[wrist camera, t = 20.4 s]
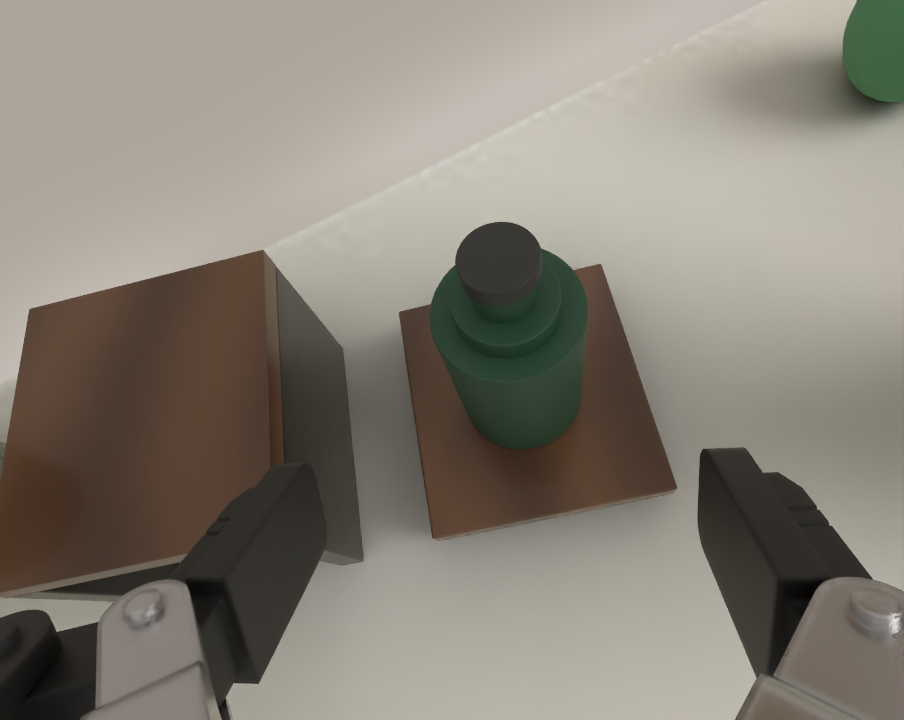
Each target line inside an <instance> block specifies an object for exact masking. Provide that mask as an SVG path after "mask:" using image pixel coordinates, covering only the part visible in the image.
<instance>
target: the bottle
mask: <svg viewBox="0 0 904 720" xmlns="http://www.w3.org/2000/svg"><path fill="white" fill-rule="evenodd" d="M455 264H456V265H455V266H454V267H453V268H452V269H450V271H449V272H448V273H447V274H446V275H445V276H444V278H443V279H442V281H441V282H440V284H439V285H438V287H437V289H436V291H435V294H434V297H433V299H432V303H431V308H430V329H431V333H432V337H433V339H434V342H435V344H436V347H437V349H438V351H439V353H440V355H441V357H442V360H443V362H444V364H445V366H446V368H447V370H448V373H449V375H450V377H451V379H452V381H453V384H454V386H455V388H456V390H457V392H458V394H459V397H460V399H461V401H462V403H463V405H464V407H465V410H466V412H467V414H468V416H469V418H470V420H471V422H472V424H473V425H474V426H475V428H476V429H477V430H478V431H479V432H480V433H481V434H482V435H483V436H484V437H486V438H487V439H488V440H490V441H492V442H493V443H495V444H498V445H500V446H503V447H507V448H511V449H532V448H537V447H540V446H543V445H546V444H548V443H550V442H552V441H554V440H555V439H557V438H558V437H559V436H561V435H562V434H563V433H564V432H565V431H566V430H567V429H568V428H569V426H570V425H571V424H572V422H573V421H574V419H575V417H576V415H577V412H578V409H579V405H580V400H581V389H582V378H583V367H584V356H585V344H586V333H587V322H588V300H587V296H586V292H585V290H584V287H583V285H582V283H581V281H580V279H579V277H578V276H577V274H576V273H575V272H574V271H573V269H572V268H571V267H570V266H569V265H568V264H566V263H565V262H564V261H563V260H562V259H560V258H559V257H557V256H556V255H554V254H552V253H550V252H548V251H546V250H543V249H541V248H540V246H539V243H538V241H537V239H536V238H535V237H534V236H533V234H531V233H530V232H529V231H528V230H527V229H525V228H523V227H522V226H519V225H517V224H513V223H508V222H495V223H490V224H486V225H483V226H481V227H479V228H477V229H475V230H474V231H472V232H471V233H470V234H469V235H467V236H466V238H465V239H464V240H463V241H462V243H461V244H460V246H459V248H458V251H457V254H456V261H455Z"/></svg>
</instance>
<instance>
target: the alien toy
mask: <svg viewBox="0 0 904 720" xmlns="http://www.w3.org/2000/svg"><path fill="white" fill-rule="evenodd" d="M842 59H843V65H844V68H845V70H846V73H847V76H848V78H849V80H850V81H851V83H852V84H853V85H854V86H855V87H856V89H857V90H859V91H860V92H861V93H863V94H864V95H866V96H868V97H870V98H873V99H875V100H879V101H884V102H894V103H900V102H904V0H857V2H856V4H855V6H854V8H853V10H852V12H851V15H850V17H849V19H848V22H847V25H846V28H845V32H844V38H843V57H842Z"/></svg>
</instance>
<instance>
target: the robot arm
mask: <svg viewBox="0 0 904 720" xmlns="http://www.w3.org/2000/svg"><path fill="white" fill-rule="evenodd" d="M698 529H699V536H700V540H701V544H702V548H703V550H704V553H705V555H706V558H707V560H708V562H709V565H710V567H711V570H712V572H713V574H714V577H715V579H716V582H717V584H718V586H719V589H720V591H721V594H722V596H723V598H724V601H725V603H726V606H727V608H728V610H729V613H730V615H731V618H732V620H733V622H734V625H735V627H736V630H737V632H738V634H739V637H740V639H741V642H742V644H743V646H744V649H745V651H746V654H747V656H748V658H749V661H750V663H751V666H752V668H753V670H754V673H755V675H756V678H757V679H756V681H755V683H754V685H753V686H752V688H751V690H750V692H749V694H748V696H747V698H746V700H745V702H744V704H743V705H742V707H741V709H740V711H739V713H738V715H737V717H736V719H735V720H904V592H903V591H901V590H899V589H897V588H895V587H893V586H890V585H888V584H885V583H882V582H879V581H876V580H873V579H872V578H871V576H870V575H869V574H868V572H867V571H866V570H865V568H864V567H863V566H862V565H861V563H860V562H859V561H858V559H857V558H856V557H855V555H854V554H853V553H852V552H851V550H850V549H849V548H848V546H847V545H846V544H845V542H844V541H843V540H842V539H841V537H840V536H839V535H838V533H837V532H836V531H835V529H834V528H833V527H832V526H829V522H828V520H827V519H826V518H825V517H824V515H823V514H822V513H821V511H820V510H817V506H816V505H815V504H814V502H813V501H812V500H811V498H810V497H809V496H808V494H807V493H806V492H805V491H804V489H803V488H802V487H800V486H799V485H797V484H796V483H794V482H792V481H791V480H789V479H788V478H786V477H785V476H783V475H782V474H780V473H778V472H774V473H763V472H762V471H761V469H760V468H759V466H758V465H757V464H756V462H755V461H754V459H753V458H752V456H751V455H750V453H749V452H748V451H747V449H745V448H743V447H741V448H714V449H703V450H702V452H701V455H700V467H699V493H698ZM326 539H327V525H326V520H325V515H324V511H323V507H322V502H321V498H320V494H319V489H318V485H317V481H316V476H315V472H314V469H313V467H312V466H311V465H310V464H309V463H289V464H274V465H273V466H272V467H271V468H270V469H269V470H268V471H267V473H266V474H265V475H264V477H263V478H262V479H261V480H260V482H259V483H258V484H257V486H256V487H253V488H249V489H248V490H246V491H245V492H243V493H242V494H241V495H239V496H238V497H236V498H235V499H234V500H232V501H231V502H230V503H229V504H228V505H227V506H226V507H225V509H224V510H223V511H222V512H221V514H220V515H219V516H218V517H217V521H216V522H213V523H212V525H211V526H210V527H209V528H208V530H207V531H206V535H203V536H202V537H201V538H200V539H199V541H198V542H197V543H196V544H195V546H194V547H193V548H192V549H191V550H190V552H189V553H188V554H187V555H186V557H185V558H184V559H183V560H182V561H181V563H180V564H179V565H178V566H177V568H176V569H175V570H174V571H173V573H172V574H171V575H170V576H169V577H168V579H167V580H158V581H154V582H150V583H147V584H144V585H142V586H140V587H137V588H135V589H133V590H131V591H130V592H128V593H126V594H125V595H123V596H122V597H120V598H119V599H118V600H116V601H115V602H114V603H113V604H112V605H111V606H110V607H109V608H108V609H107V610H106V611H105V612H104V614H103V615H102V617H101V619H100V621H99V622H97V623H93V624H89V625H84V626H80V627H76V628H72V629H68V630H64V631H60V632H56V629H55V627H54V625H53V623H52V621H51V619H50V617H49V615H48V614H47V613H46V612H44V611H40V610H26V611H21V612H17V613H13V614H10V615H7V616H5V617H2V618H0V720H233V719H232V715H231V710H230V707H229V704H228V701H227V698H226V696H227V694H228V692H229V690H230V688H231V686H232V685H233V683H252V684H259V682H260V680H261V678H262V676H263V674H264V672H265V670H266V668H267V666H268V664H269V662H270V660H271V658H272V656H273V654H274V652H275V650H276V648H277V646H278V644H279V642H280V639H281V637H282V635H283V633H284V631H285V629H286V627H287V625H288V623H289V621H290V619H291V617H292V615H293V613H294V611H295V609H296V607H297V605H298V603H299V601H300V599H301V597H302V595H303V593H304V591H305V589H306V587H307V585H308V583H309V581H310V579H311V577H312V575H313V573H314V571H315V569H316V566H317V564H318V562H319V560H320V558H321V556H322V554H323V552H324V549H325V545H326Z"/></svg>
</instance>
